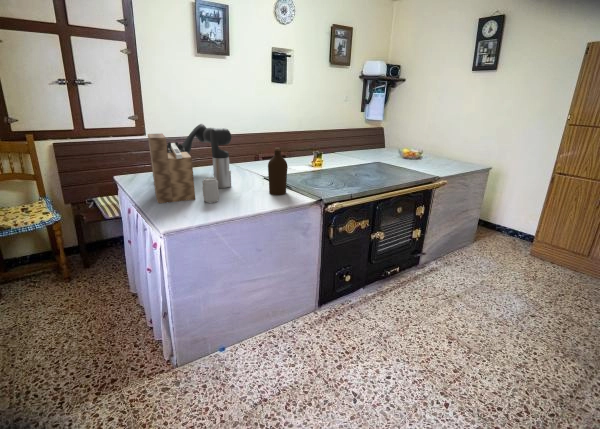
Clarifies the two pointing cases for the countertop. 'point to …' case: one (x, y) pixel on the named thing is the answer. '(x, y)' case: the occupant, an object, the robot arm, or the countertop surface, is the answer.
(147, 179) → the countertop surface
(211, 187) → the can
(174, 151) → the remote
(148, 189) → the countertop surface
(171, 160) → the stepped wooden block
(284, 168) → the olive oil
